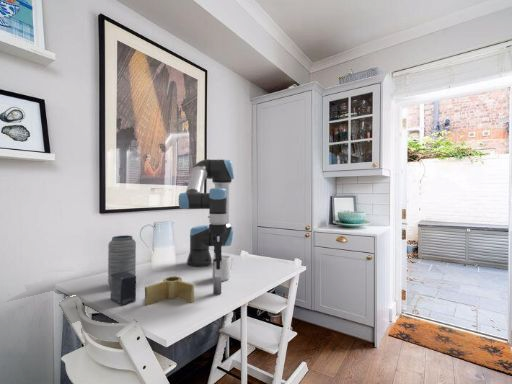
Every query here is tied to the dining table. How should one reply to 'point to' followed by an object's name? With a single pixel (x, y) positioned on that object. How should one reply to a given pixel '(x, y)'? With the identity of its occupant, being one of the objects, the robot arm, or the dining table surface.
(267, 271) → the dining table surface
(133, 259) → the vase
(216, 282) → the pin
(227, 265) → the mug
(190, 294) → the hinge
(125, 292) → the small box
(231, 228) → the robot arm
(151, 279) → the dining table surface
